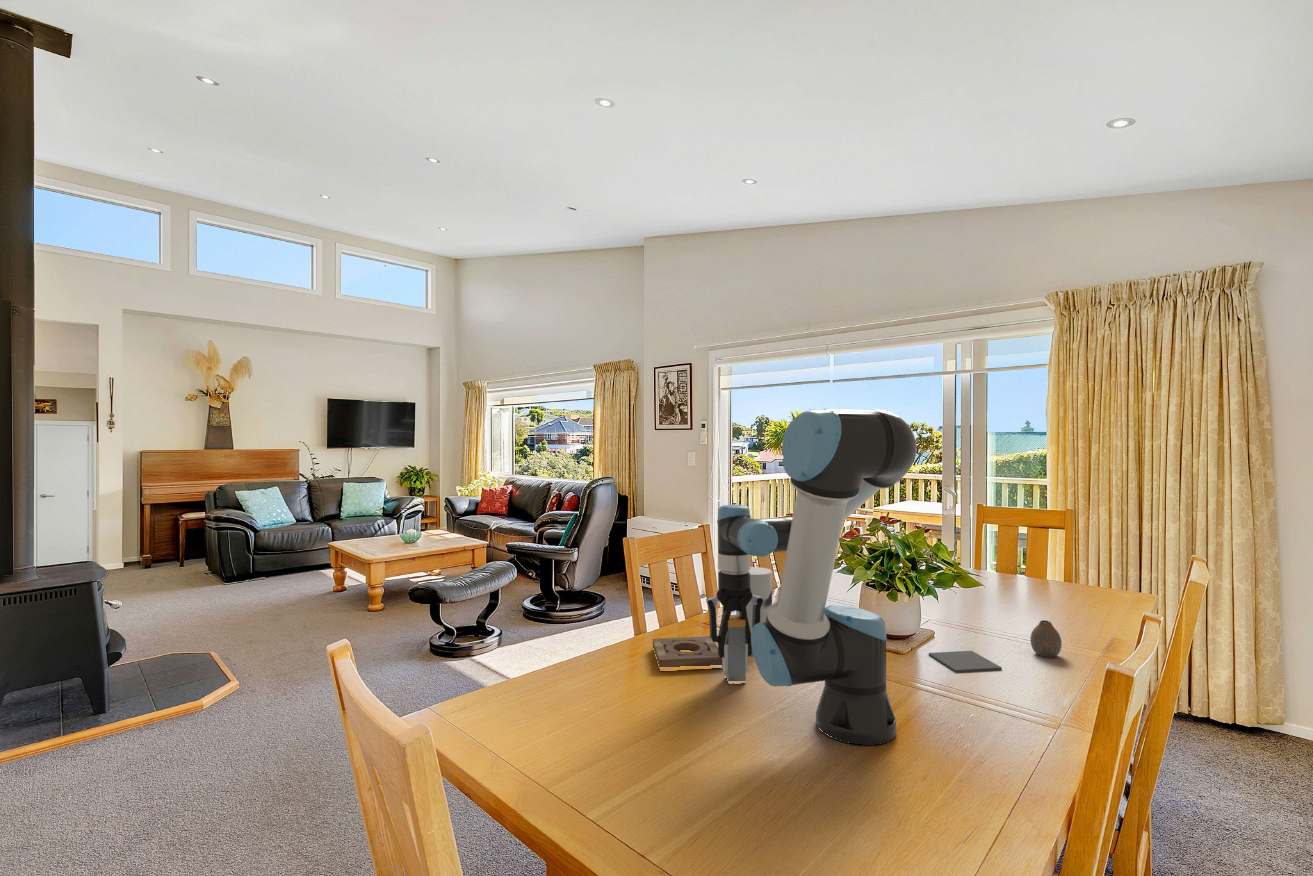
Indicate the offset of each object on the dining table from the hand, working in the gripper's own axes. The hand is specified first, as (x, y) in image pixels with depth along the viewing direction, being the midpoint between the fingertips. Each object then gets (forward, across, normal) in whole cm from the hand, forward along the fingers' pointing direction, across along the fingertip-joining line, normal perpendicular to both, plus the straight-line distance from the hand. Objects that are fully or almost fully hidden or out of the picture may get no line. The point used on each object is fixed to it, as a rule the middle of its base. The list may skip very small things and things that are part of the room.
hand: (735, 669), depth 147 cm
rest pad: (+3, -60, -4) cm, 60 cm away
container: (+3, -12, -27) cm, 30 cm away
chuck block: (+3, +9, -16) cm, 19 cm away
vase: (+3, -84, -6) cm, 84 cm away
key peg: (+3, 0, 0) cm, 3 cm away
